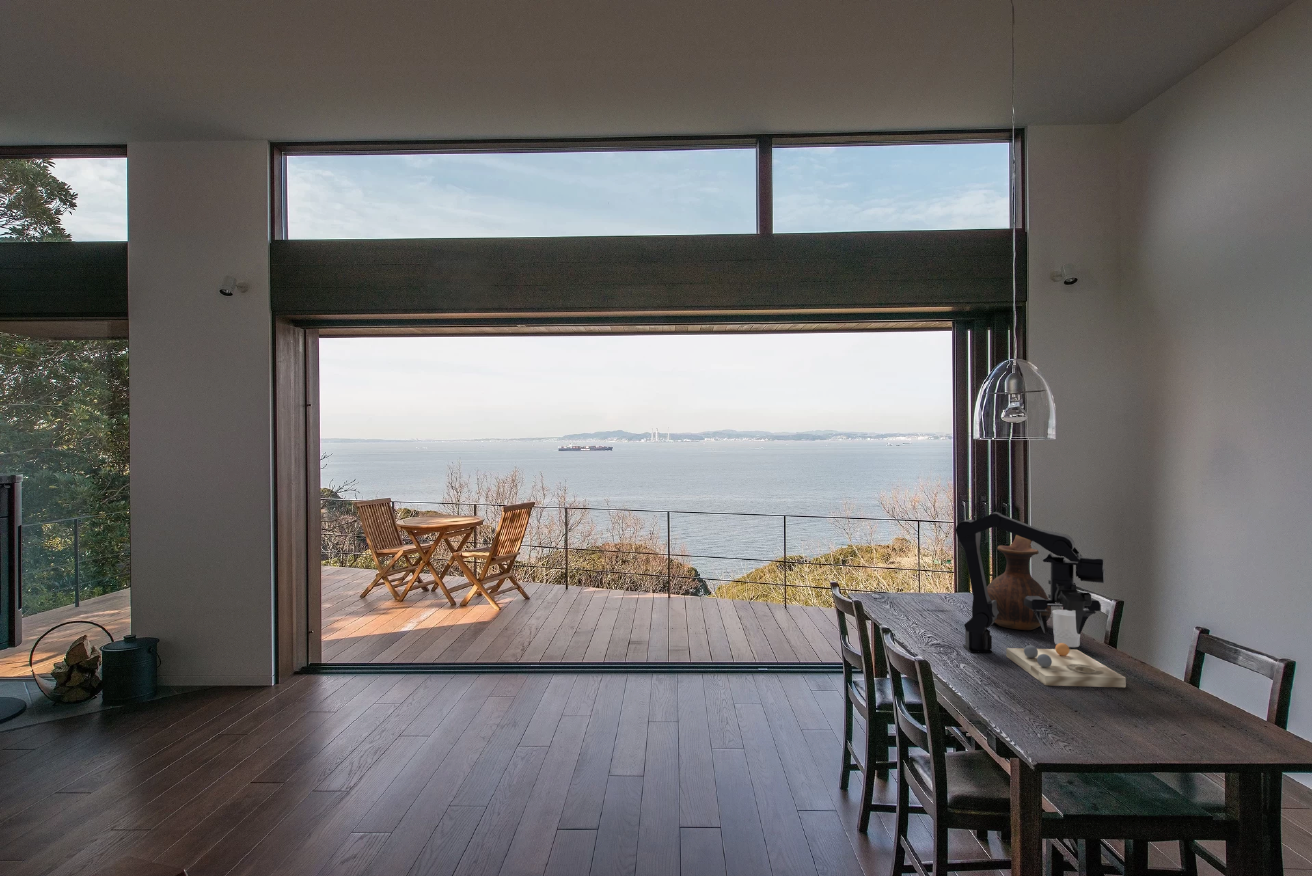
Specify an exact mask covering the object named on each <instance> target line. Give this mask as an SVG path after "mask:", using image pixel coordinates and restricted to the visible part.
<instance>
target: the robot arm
mask: <svg viewBox="0 0 1312 876" xmlns="http://www.w3.org/2000/svg"><path fill="white" fill-rule="evenodd" d="M994 527H995V528H998V529H1000V530H1003V531H1006V532H1008V533H1011V534H1014V535H1015V536H1016V535H1018V536H1021V537H1023V538H1026V539H1028V540H1031V541H1032V542H1033V543H1035V544H1037V545H1039V546H1041V547H1042V548H1043V549H1045V550H1047V551H1048V552H1050V553H1048V554H1047V556H1046V557H1044V558H1043V559H1042V562H1044V563H1049V564H1050V579H1048V580H1047V581H1048V585H1050V593H1049V594H1047V597H1048V599H1049V600H1046V599H1044V598H1041V597H1039V596H1026V597H1025V599H1024V605H1025V606H1027V607H1029V608H1030V609H1031V610H1033V611H1034V613H1035V615H1036V616H1037V618H1038V620H1039V623H1040V625H1041V626H1040V628H1041V629H1042V632H1043V633H1044V634H1047V633H1048V621H1047V614H1048V611H1047V610H1045V609H1046V608H1047V606H1051V607H1060V608H1061V607H1062V608H1064V610H1068V611H1075V613H1076V630H1077V633H1078V634H1080V635H1081V633H1082V631H1083V629H1084V627H1085V624H1086V622H1087V620H1088V619H1089V617H1090V616H1092V615H1095V614H1096V613H1097V612H1102V603H1101V602H1100V600H1098V599H1095V598H1094V597H1092V594H1091V593H1090V592H1086V591H1085V592H1078V590H1077V584H1076V583H1075V582H1074V581H1075V579H1074V575H1075V577H1076V578H1077V579H1080V581H1081V582H1087V583H1088V582H1089V583H1096V584H1097V583H1098V584H1105V581H1106V569H1105V562H1104V561H1105V559H1104V558H1101V557H1096V558H1095V557H1094V558H1093V557H1083V555H1082V554H1081V553H1080V551H1079V550H1078V549H1077V547H1076V546H1075V540H1074V539H1073V537H1071V536H1070V535H1068V534H1065V533H1060V532H1057V531H1050V530H1045V529H1040V528H1038V527H1035V526H1033V525H1030V524H1028V523H1024V522H1022V521H1019V520H1017V519H1014V518H1011V517H1008V516H1007V515H1004V514H1002V513H1001V512H997V511H995V512H991V513H990V514H988V515H987V516H983V517H981V518H978V519H976V520H974V519H968V518H967V519H965V520H963V521H961V522H959V523H958V524H957V525H956V527H955V533H956V535H957V538H958V541H959V543H960V545H961V547H962V549H963V551H964V554H965V555H964V556H965V560H966V566H967V571H968V575H969V580H970V586H971V590H972V592H971V593H972V606H971V618H970V619H969V620H968V621H966V622H965V623H964V628H965V630H964V631H965V634H964V636H965V644H963V645H962V646H963V648H965V650H967V651H968V652H970V653H978V654H979V653H980V654H981V653H985V654H987V653H988V654H992V653H993V648H992V647H993V638H992V637H993V636H992V635H991V630H989V628H990V627H991V626H992V625H993V624H995V622H994V621H995V620H996V619H997V614H998V613H999V611H998V610H997V602H996V600H991V599H990V597H989V595H988V591H987V586H988V585H987V581H986V576H985V572H984V566H983V561H982V556H981V549H980V547H981V546H980V545H981V539H982V538H981V532H984V531H985V530H989V529H991V528H994ZM1054 555H1055V556H1054ZM1074 568H1075V570H1074ZM1074 571H1075V572H1074Z"/></svg>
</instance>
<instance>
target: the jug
mask: <svg viewBox="0 0 1312 876" xmlns="http://www.w3.org/2000/svg"><path fill="white" fill-rule="evenodd" d="M1032 542H1033V541H1031V540H1028V539H1026V538H1023V537H1021V536H1018V535H1016V534H1015V537H1014V539H1013V542H1012V543H1011V544H1010V545H1002V544H1001V545H998V546H997V551H999V552H1000V553H1002V554H1003V555H1004V557H1005V559H1006V566H1005V571H1004V572H1003V573H1002V574H1000V575H998V576H996V577H995V578H994V579H993V580H992V581H990V583H989V584H988V585H986V586H987V591H988V595H989V597H990V599H991V600H996V602H997V610H998V611H999V613H998V614H997V619H996V620H995V621H994V624H996V625H998V626H999V627H1002V628H1007V629H1011V630H1012V629H1013V630H1021V631H1032V630H1036V629H1037V628H1040V627H1041V625H1040V623H1039V620H1038V618H1037V616H1036V615H1035V613H1034V611H1033V610H1031V609H1030V608H1029V607H1027V606H1025V605H1024V599H1025V597H1026V596H1039V597H1041V598H1044V599H1046V600H1050V598H1048V594H1047V593H1046V592H1045V589H1044V588H1043V587H1042V585H1040V583H1039V582H1038V581H1036V579H1034V578H1033V577H1032V575H1031V571H1030V560H1031V559H1032V557H1033V556H1034V555H1035V556H1036V555H1038V554H1039V550H1038V549H1037V548H1036V549H1035V548H1032ZM1045 610H1047V611H1048V614H1047V622H1048V621H1049V619H1051V618H1050V617H1051V616H1052V606H1047V608H1046V609H1045Z"/></svg>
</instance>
